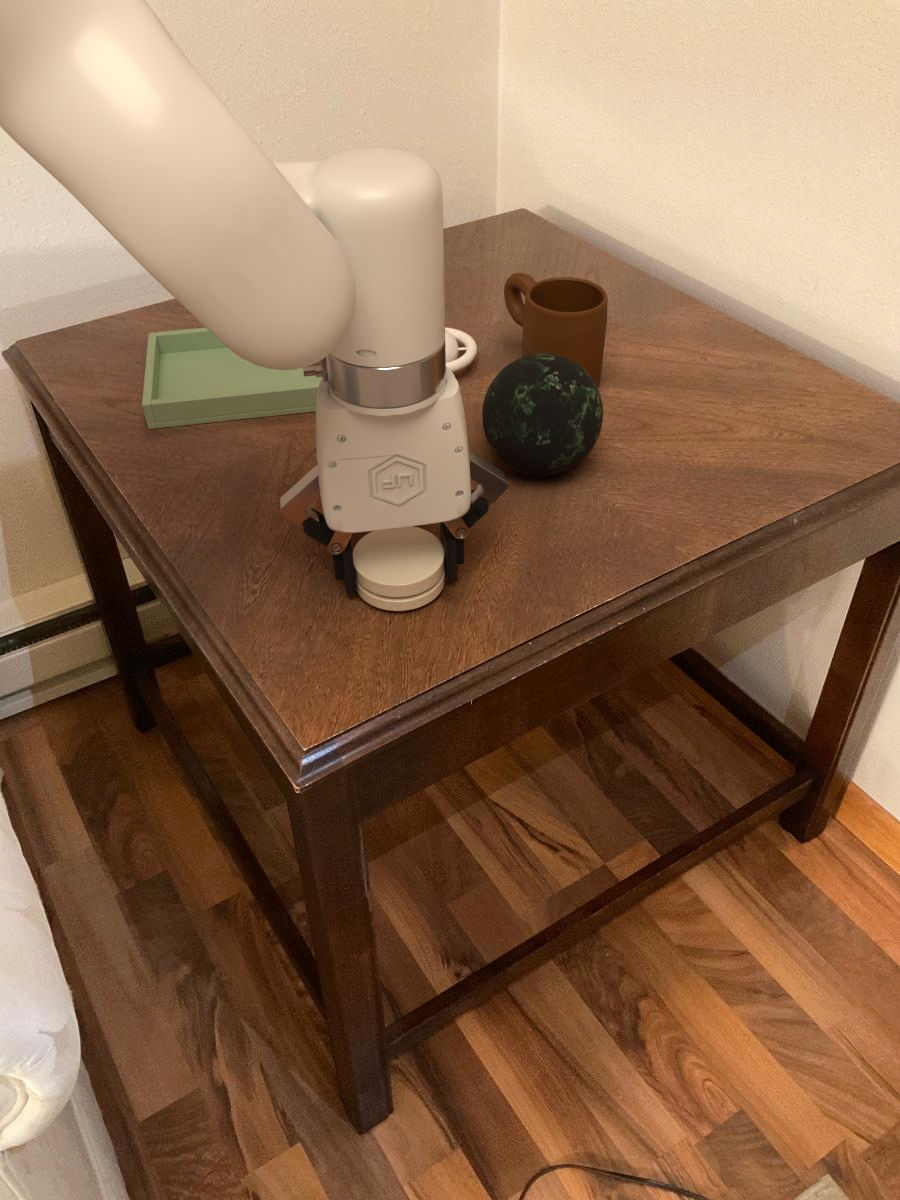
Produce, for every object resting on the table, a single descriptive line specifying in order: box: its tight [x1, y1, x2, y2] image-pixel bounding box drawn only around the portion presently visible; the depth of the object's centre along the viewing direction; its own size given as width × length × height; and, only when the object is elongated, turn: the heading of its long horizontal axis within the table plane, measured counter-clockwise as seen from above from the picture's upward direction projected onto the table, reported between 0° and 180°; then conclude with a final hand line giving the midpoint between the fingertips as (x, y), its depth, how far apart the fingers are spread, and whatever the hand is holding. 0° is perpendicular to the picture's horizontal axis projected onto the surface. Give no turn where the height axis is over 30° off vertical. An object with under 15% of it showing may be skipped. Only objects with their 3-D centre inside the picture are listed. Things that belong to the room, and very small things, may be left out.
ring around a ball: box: [445, 326, 478, 373], centre depth 96 cm, size 8×6×8 cm
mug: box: [503, 272, 609, 389], centre depth 93 cm, size 12×8×9 cm, turn 38°
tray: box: [141, 327, 323, 430], centre depth 95 cm, size 18×14×3 cm
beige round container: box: [352, 526, 446, 612], centre depth 74 cm, size 7×7×3 cm
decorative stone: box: [481, 353, 604, 477], centre depth 82 cm, size 10×10×10 cm
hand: (399, 574), depth 74 cm, fingers closed on beige round container, 6 cm apart
